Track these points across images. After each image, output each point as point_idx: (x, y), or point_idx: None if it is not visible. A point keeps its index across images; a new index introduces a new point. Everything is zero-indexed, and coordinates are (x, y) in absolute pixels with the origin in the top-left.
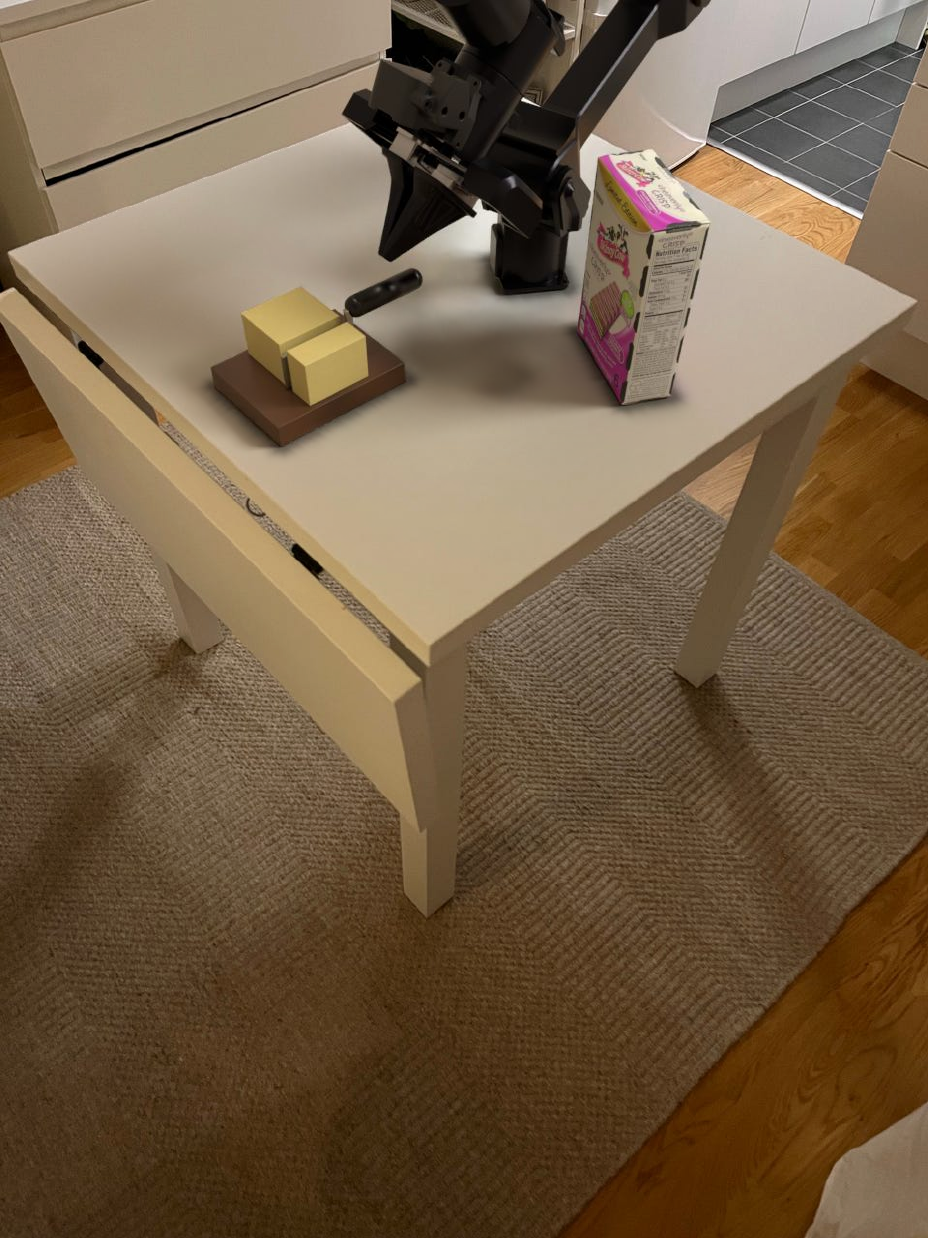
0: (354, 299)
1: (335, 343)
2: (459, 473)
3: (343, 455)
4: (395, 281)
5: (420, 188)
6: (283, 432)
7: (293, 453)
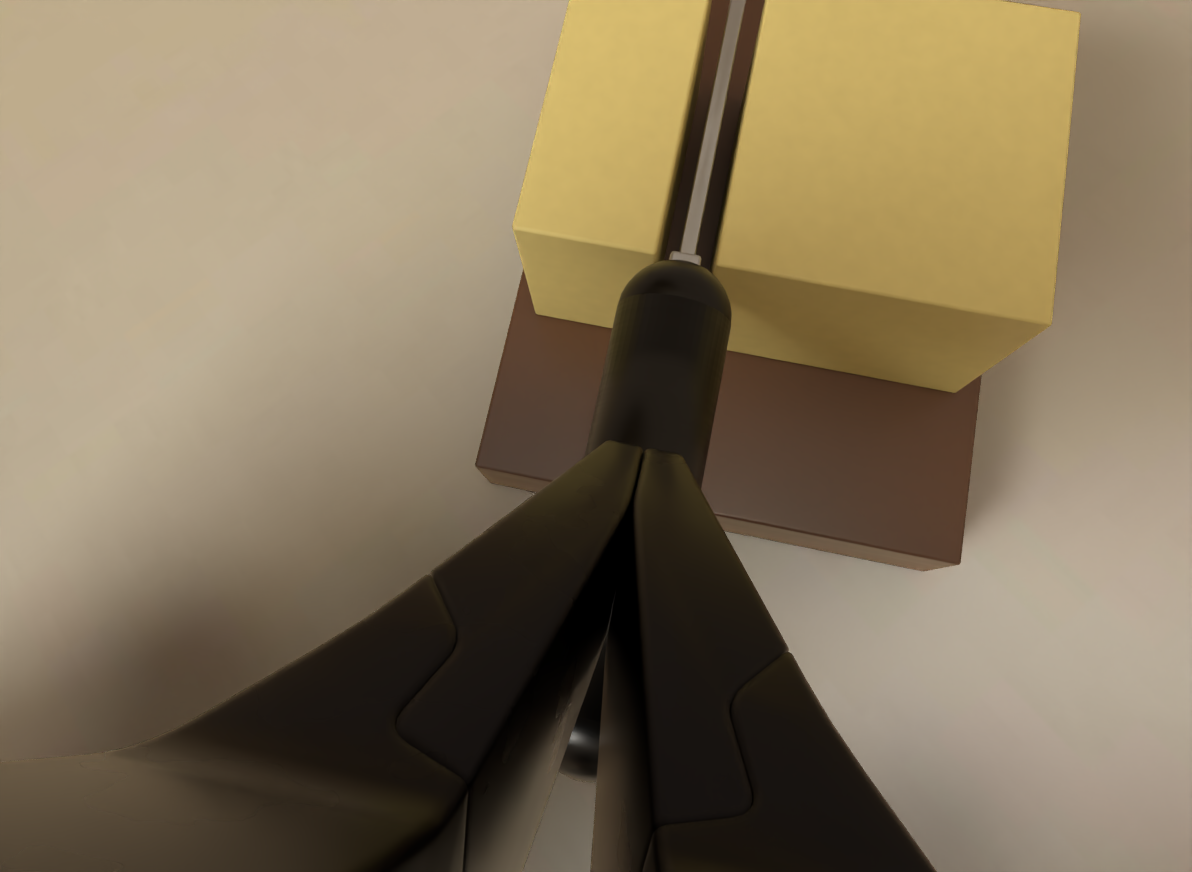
0: (662, 280)
1: (585, 109)
2: (80, 242)
3: (428, 92)
4: None
5: (179, 804)
6: None
7: (556, 13)
